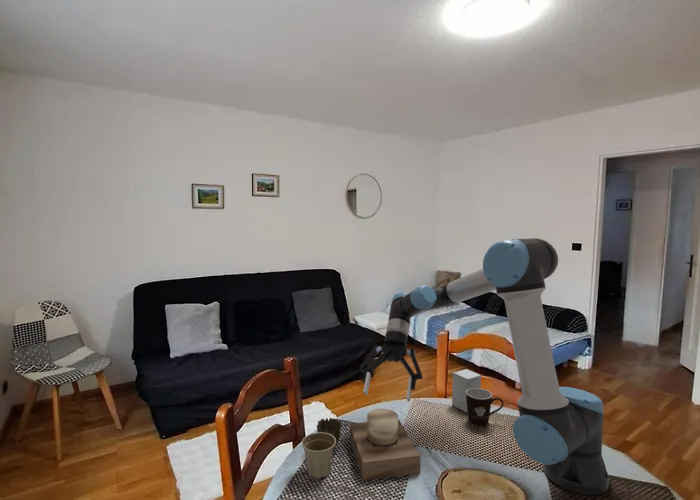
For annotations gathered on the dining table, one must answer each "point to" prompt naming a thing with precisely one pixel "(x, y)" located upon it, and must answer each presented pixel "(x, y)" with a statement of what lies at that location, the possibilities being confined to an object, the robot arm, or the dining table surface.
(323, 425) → the dark green spiky plant
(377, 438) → the peg
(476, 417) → the coffee mug
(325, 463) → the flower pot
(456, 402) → the supplement box
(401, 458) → the board
